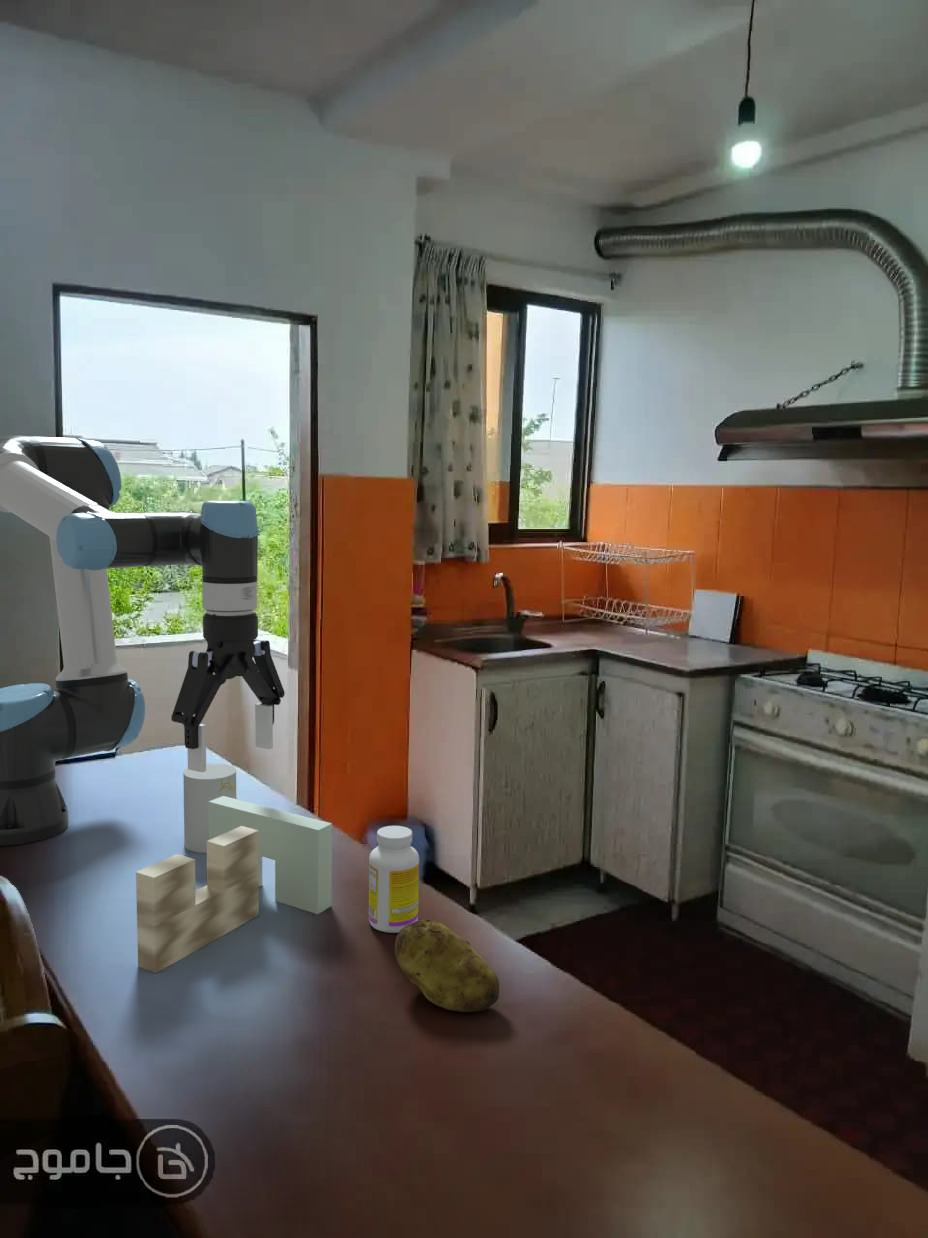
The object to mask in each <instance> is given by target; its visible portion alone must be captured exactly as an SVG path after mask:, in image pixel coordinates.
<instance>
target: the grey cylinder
mask: <svg viewBox="0 0 928 1238" xmlns="http://www.w3.org/2000/svg"><path fill="white" fill-rule="evenodd" d="M182 773H183V829H184V830H183V831H184V832H183V837H184V838H183V840H184V843H183V844H184V847H185V849H186V848H187V850H188V851H191V852H195V853H200V854H201V853H202V854H205V853H206V854H207V841H208V840H209V801H211V800H214V799H216V798H219V797H222V796H226V797H230V798H234V799H237V768H236V767H234V766H232V765H230V764H227V763H206V771H205V772H198V771H193V770H189V769H188V767H187V768H185V770H183V772H182Z"/></svg>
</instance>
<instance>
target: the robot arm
mask: <svg viewBox="0 0 928 1238" xmlns="http://www.w3.org/2000/svg"><path fill="white" fill-rule="evenodd" d="M120 491H122V476H121V472H120V468H119V464H118V461H117V460H116V458H115V456H114V454H113V452H111V450H109V449H108V447H107V446H106V445H105V444H103V443H102V442H100V441H98V440H97V441H96V440H91V439H84V438H79V437H56V436H55V437H51V436H49V437H48V436H33V435H31V436H30V435H28V436H27V435H20V434H19V435H16V434H14V435H5V436H0V512H2V513H12V514H13V515H14V516H17V517H18V518H20V519H21V520H23V521H24V522H25V523H28V524H30V525H31V526H32V527H34V528H36V529H37V530H39V531H40V532H42V533H43V534H45V535H47V536H48V537H49V545H50V553H51V562H52V564H51V565H52V571H53V581H54V589H55V590H54V592H55V597H56V607H57V617H58V626H59V634H60V635H59V636H60V643H61V644H60V645H61V652H62V662H63V663H62V664H63V668H62V671H60V673H58V675H57V676H56V677H55V686H56V690H53V688H52V687H51V685H50V684H47V683H42V682H31V683H26V684H23V683H22V684H14V685H10V686H4V687H1V688H0V846H15V845H23V844H24V845H25V844H28V843H29V844H30V843H34V842H38V841H42V840H46V839H48V838H49V839H50V838H52V837H54V836H56V835H57V834H60V833H62V832H63V831H65V830H66V829H67V827H68V825H69V810H68V806H67V804H66V802H65V800H64V797H63V795H62V792H61V789H60V786H59V784H58V782H57V779H56V762H57V761H60V760H65V759H66V760H67V759H70V758H75V757H80V756H86V755H90V754H95V753H100V752H111V751H113V750H115V749H119V748H122V747H126V746H130V745H131V744H132V743H134V741H136V740H137V738H138V737H139V734H140V733H141V732H142V729H143V726H144V723H145V717H146V702H145V697H144V694H143V692H141V691H142V689H141V686H140V685H139V683H138V682H136V681H135V680H132V679H130V678H129V677H128V670H127V668H125V667H124V666H122V665H120V663H119V662H118V660H117V659H118V658H117V651H116V643H115V633H114V623H113V614H112V604H111V593H110V586H109V578H108V577H109V576H108V570H110V569H124V568H126V569H127V568H139V567H140V568H141V567H159V566H160V567H161V566H179V565H181V566H182V565H183V566H185V565H187V566H188V565H189V566H191V565H192V566H199V567H201V570H202V571H201V573H202V575H201V577H202V578H201V579H202V580H201V581H202V582H201V583H202V586H201V588H202V590H201V591H202V592H201V593H202V596H201V597H202V598H201V599H202V605H201V606H202V609H203V610H204V611H206V612H204V614H203V616H202V637H203V638H204V640H205V641H206V643H207V647H206V650H205V651H197V650H191V651H189V653H188V663H187V669H186V673H185V676H184V678H183V681H182V683H181V684H182V685H181V687H180V691H179V693H178V696H177V699H176V702H175V705H174V707H173V711H172V713H171V721H172V722H173V723H174V722H175V723H177V724H182V725H183V731H184V747H185V748H186V749H187V768H188V769H189V770H193V771H198V772H205V771H206V764H207V734H206V733H207V732H206V731H207V725H206V724H203V723H202V722H203V719H205V716H206V714H207V713H208V710H209V708H210V706H211V705H212V703H213V700H214V699H215V697H216V695H217V694H218V691H219V690H220V688H221V686H223V685H224V684H225V683H226V682H227V680H232V679H234V678H236V677H242V678H243V680H244V682H245V683H246V684H247V686H248V687H249V689H250V690H251V691H252V692H253V694H254V696H255V698H257V700H258V701H259V702H260V703H255V704H254V706H255V707H254V714H255V715H254V716H255V717H254V719H255V721H254V722H255V724H254V726H255V733H254V734H255V735H254V736H255V737H254V739H255V747H256V748H260V749H261V748H262V749H266V750H272V749H273V748H274V747H273V745H274V743H273V742H274V740H273V739H274V735H273V731H274V730H273V729H274V723H275V706H279V705H280V704H281V701H282V700H281V699H283V698H284V697H285V693H286V692H285V690H284V686H283V685H282V682H281V679H280V676H279V674H278V671H277V668H276V665H275V662H274V660H273V657H272V653H271V646H270V645H271V643H270V641H269V640H268V639H267V640H264V639H259V638H258V636H259V616H258V615H259V614H257V613H256V612H254V611H255V610H256V609H258V559H259V557H258V555H259V554H258V552H259V551H258V546H259V541H258V539H259V537H258V535H259V527H258V522H257V521H258V520H257V519H258V518H257V508H256V506H255V504H254V503H252V502H250V501H244V500H242V501H241V500H239V501H238V500H205V501H204V502H203V503H202V505H201V509H200V513H197V512H189V511H185V510H182V511H181V510H180V511H177V510H174V511H173V510H172V511H170V512H115V511H111V507H113V506H115V505H116V504H117V503H118V502H119V499H120V496H121V492H120Z"/></svg>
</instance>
